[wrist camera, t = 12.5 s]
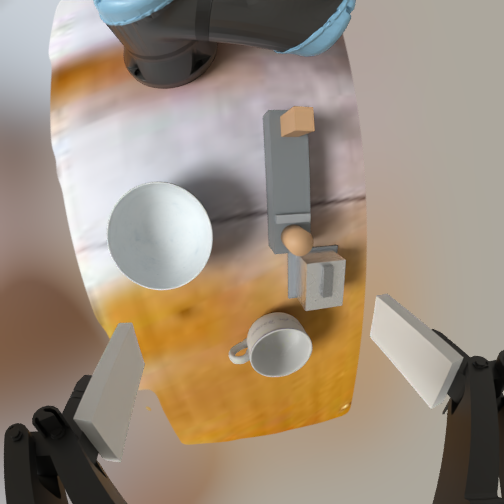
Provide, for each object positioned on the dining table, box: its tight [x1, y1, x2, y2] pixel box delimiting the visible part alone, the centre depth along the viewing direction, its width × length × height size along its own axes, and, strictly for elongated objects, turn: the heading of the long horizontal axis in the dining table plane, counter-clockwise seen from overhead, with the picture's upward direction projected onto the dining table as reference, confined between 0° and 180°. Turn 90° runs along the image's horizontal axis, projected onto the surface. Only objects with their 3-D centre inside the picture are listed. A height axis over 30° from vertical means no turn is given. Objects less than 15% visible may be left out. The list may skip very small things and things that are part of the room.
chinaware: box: [107, 182, 213, 290], centre depth 39 cm, size 15×15×8 cm
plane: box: [263, 106, 315, 256], centre depth 37 cm, size 21×6×12 cm, turn 3°
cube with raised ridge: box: [295, 249, 346, 311], centre depth 45 cm, size 8×6×7 cm
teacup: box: [229, 312, 312, 377], centre depth 47 cm, size 14×11×8 cm
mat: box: [288, 245, 338, 298], centre depth 48 cm, size 9×9×1 cm
